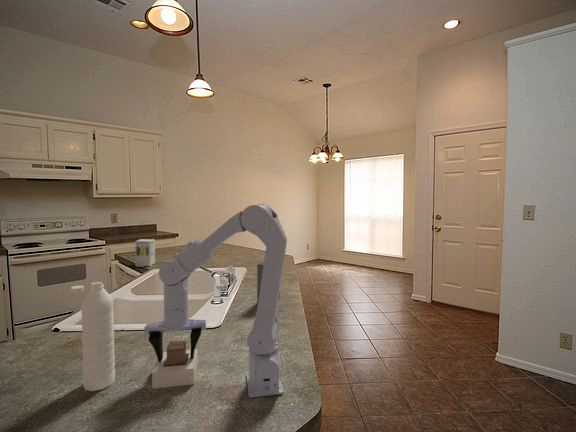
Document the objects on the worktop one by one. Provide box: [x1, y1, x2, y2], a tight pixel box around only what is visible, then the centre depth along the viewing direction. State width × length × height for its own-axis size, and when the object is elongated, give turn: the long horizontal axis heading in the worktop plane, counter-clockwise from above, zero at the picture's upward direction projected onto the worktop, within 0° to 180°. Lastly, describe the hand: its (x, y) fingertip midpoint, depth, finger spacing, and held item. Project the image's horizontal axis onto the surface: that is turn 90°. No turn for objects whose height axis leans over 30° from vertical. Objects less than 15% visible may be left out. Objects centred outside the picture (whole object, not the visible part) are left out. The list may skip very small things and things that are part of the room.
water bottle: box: [70, 281, 116, 392], centre depth 70 cm, size 9×6×25 cm
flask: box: [256, 261, 281, 305], centre depth 132 cm, size 15×6×20 cm, turn 153°
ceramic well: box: [151, 348, 199, 390], centre depth 76 cm, size 10×10×4 cm
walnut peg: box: [166, 339, 187, 367], centre depth 76 cm, size 4×4×8 cm
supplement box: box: [134, 238, 156, 268], centre depth 195 cm, size 10×9×17 cm
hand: (176, 358), depth 76 cm, fingers open, 7 cm apart
